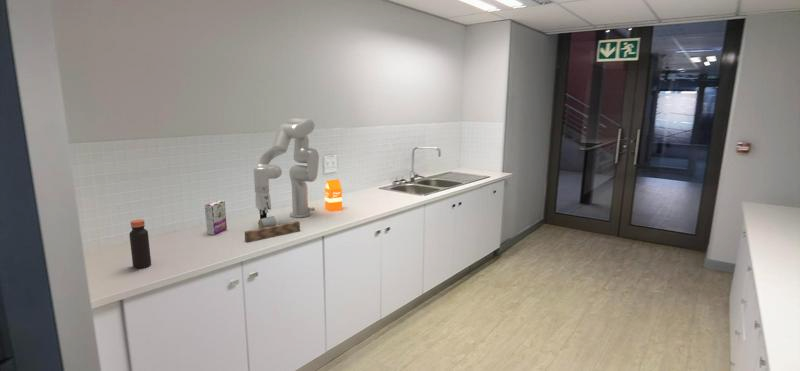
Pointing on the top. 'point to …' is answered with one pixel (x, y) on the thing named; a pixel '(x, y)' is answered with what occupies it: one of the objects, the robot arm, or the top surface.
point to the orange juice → (333, 195)
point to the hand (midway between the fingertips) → (263, 221)
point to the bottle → (139, 245)
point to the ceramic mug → (267, 222)
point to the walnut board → (271, 231)
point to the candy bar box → (215, 217)
